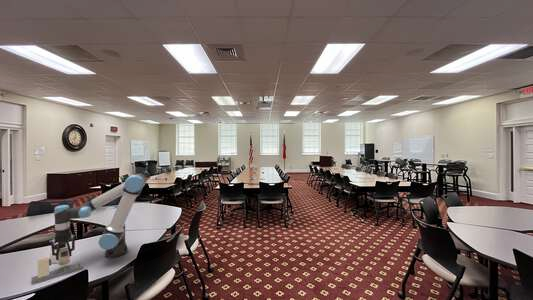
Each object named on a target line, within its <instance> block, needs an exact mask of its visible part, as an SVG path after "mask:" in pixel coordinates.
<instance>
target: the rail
mask: <svg viewBox="0 0 533 300" xmlns="http://www.w3.org/2000/svg"><path fill="white" fill-rule="evenodd" d="M36 263H37V269H36V271H37V274H36V275H35V276H32V277H31V285H35V283H36V284H39V283H42V282H45V281H48V280H51V279H55V278H58V277H62V276H65V275H68V274H72V273H74V272H77V271H81V270H84V265H83V263H81V261H78V263H76V264H74V265H70V266H66V265H62V266H63V267H62V268H59V269H55V270H53V271H50V266H51V265H52V263H51V259H50V257H44V258H41V259H37V261H36Z"/></svg>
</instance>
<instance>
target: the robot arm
mask: <svg viewBox="0 0 533 300" xmlns="http://www.w3.org/2000/svg"><path fill="white" fill-rule="evenodd" d="M147 182H148V181H147V176H146V175H145V174H143V173H134V174H132V175H129V176H128V177H127V178H126V179H125V180H124V182H123V183H121V184H119V185H117V186H115V187H114V188H112V189H110V190H107V191H106V192H104V193H102V194H101V195H100V194H99V196H96V197H95V198H92V199H90V200H89V201H87V202H85V203H84V204H82V205H80V206H77V207H70V205H68V204H61V205H57V206H55V207H54V212H53V217H54V233H55V234H54V235H55V236H54V238H53V239H52V240H51V239H50V240H49V244H50V246H51V247H50V248H51V252H52V255H53V256H54V255H55V256H56V260H58V263H57V264H58V265H59V266H61V265H60V254H59V250H60V246H61V243H63V242H66V247H67V248H68V250H69V251H68V261H69V263H70V262H71V260H70V257H72V252H73V251H75V249H76V237H77V235H76V234H71V228H70V227H71V223H70V220H75V219H85V218H90V216H91V214H92V212H93V211H94V212H95V210H97V209H100V208H101V207H103V206H104V205H106V204H108V203H110V202H112V201H114V200H115V199H117V198H119V197H121V198H120V201H119V203H118V205H117V208H116V209H115V212H114V214H113V216H112V219H111V221H110V223H109V224H107V226H105V228H104V229H103V232H102V235H101V236H100V237H99V238H98V245H99V247H100V248H101V249H103V250H105V251H104V258H109V259H110V258H111V259H113V258H119V257H122V256H124V255H126V254H127V253H128V251H129V247H128V245H127V242H126V221H127V218H128V217H129V214H130V212H131V210H132V207H133V206H134V204H135V201H136V199H137V197H139V196H140V194H141V192H142V190H143V187H145V186H146V184H147ZM70 239H71V246H70V242H69V240H70ZM55 242H56V243H58V246H57V250H56V253H55V250H54V244H55Z"/></svg>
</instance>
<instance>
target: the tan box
mask: <svg viewBox="0 0 533 300" xmlns="http://www.w3.org/2000/svg"><path fill="white" fill-rule="evenodd" d="M59 254H60V265H59V266H61V267H62V266H66V265H68V264H69V263H70V262H69V261H68V247H67V246H66V247H64V248H60V250H59Z"/></svg>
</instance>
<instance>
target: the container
mask: <svg viewBox="0 0 533 300" xmlns="http://www.w3.org/2000/svg"><path fill="white" fill-rule="evenodd" d="M57 246H58V242H56V243H54V250H55V253H56V250H57ZM64 247H67V244H66V242H63V243H61V246H60V248H64ZM68 251H69V250H68ZM49 259H51V264H58V260H56V256H55V255H54V256H53V255H52V251H51V252H49Z"/></svg>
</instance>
